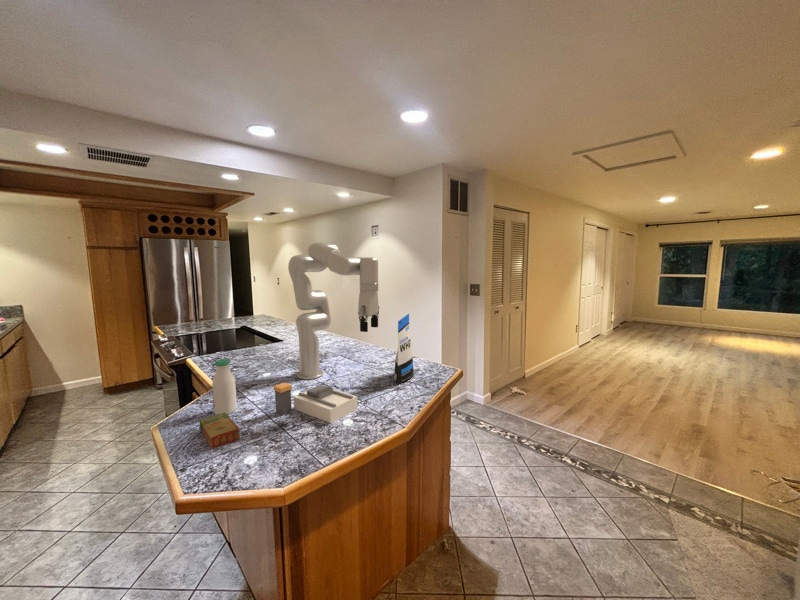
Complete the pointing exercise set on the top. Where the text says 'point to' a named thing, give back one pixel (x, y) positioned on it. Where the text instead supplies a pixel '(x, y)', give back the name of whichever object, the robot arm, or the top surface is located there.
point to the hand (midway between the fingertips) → (369, 329)
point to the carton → (219, 430)
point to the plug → (283, 398)
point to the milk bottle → (224, 389)
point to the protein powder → (403, 353)
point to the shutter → (320, 391)
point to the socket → (326, 405)
